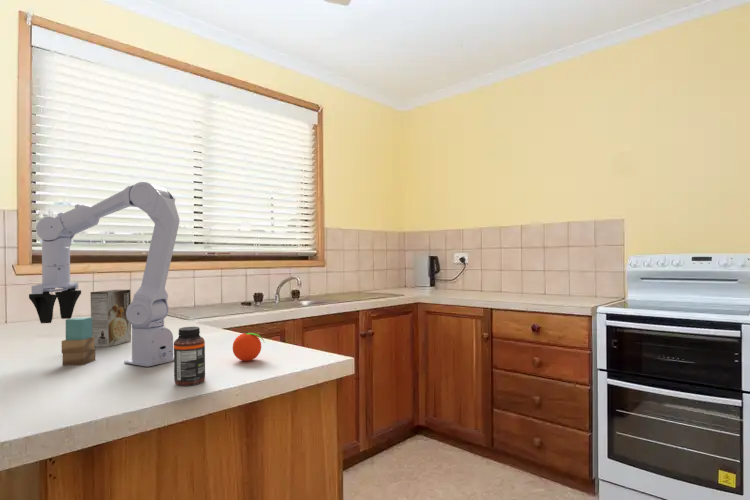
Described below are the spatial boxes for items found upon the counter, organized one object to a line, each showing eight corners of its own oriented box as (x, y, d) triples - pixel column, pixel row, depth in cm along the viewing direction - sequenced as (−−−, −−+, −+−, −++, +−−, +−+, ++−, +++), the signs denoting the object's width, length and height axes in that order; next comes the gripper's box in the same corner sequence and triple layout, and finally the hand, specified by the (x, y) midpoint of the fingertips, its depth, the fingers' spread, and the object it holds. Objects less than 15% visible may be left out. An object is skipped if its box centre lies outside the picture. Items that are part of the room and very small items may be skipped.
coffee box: (114, 340, 142) (113, 289, 142) (131, 341, 141) (131, 289, 141) (90, 346, 133) (89, 291, 133) (108, 347, 132) (108, 291, 132)
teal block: (82, 340, 111) (82, 319, 111) (65, 340, 111) (65, 319, 111) (92, 337, 115) (92, 317, 115) (76, 337, 115) (76, 317, 115)
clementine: (269, 357, 116) (269, 329, 116) (259, 364, 109) (259, 334, 109) (239, 357, 116) (239, 329, 117) (227, 364, 110) (227, 334, 110)
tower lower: (83, 365, 110) (83, 352, 110) (62, 365, 110) (62, 353, 110) (95, 360, 115) (95, 348, 115) (75, 360, 115) (75, 348, 115)
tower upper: (83, 352, 110) (83, 340, 110) (61, 353, 110) (61, 340, 110) (94, 348, 115) (94, 336, 115) (73, 349, 115) (73, 337, 115)
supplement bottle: (179, 379, 96) (179, 325, 96) (208, 378, 97) (208, 325, 97) (169, 387, 90) (169, 330, 91) (200, 386, 91) (199, 329, 91)
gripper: (58, 265, 120) (59, 317, 120) (17, 267, 106) (18, 325, 105) (86, 265, 120) (86, 316, 120) (49, 266, 106) (49, 325, 106)
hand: (56, 320), depth 113 cm, fingers open, 7 cm apart
